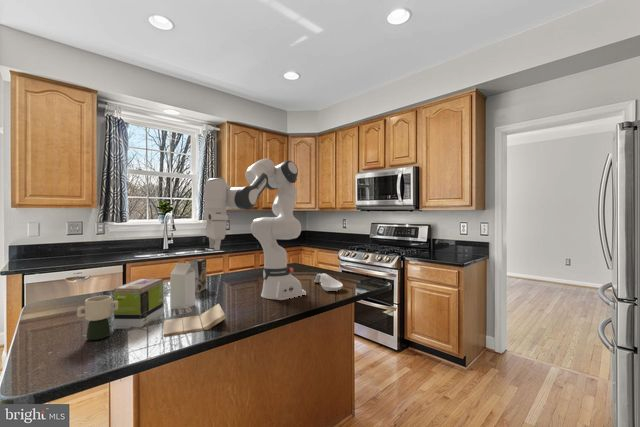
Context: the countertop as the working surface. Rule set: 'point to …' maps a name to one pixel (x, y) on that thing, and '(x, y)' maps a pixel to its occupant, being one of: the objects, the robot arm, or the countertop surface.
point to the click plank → (212, 317)
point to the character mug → (98, 315)
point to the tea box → (138, 303)
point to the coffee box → (199, 273)
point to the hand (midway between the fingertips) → (214, 249)
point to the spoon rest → (328, 282)
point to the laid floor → (182, 325)
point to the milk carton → (182, 286)
